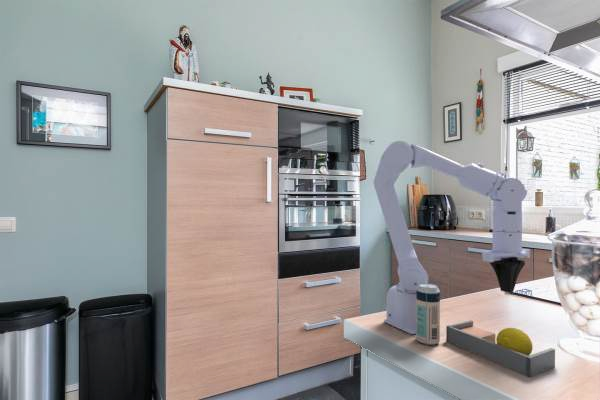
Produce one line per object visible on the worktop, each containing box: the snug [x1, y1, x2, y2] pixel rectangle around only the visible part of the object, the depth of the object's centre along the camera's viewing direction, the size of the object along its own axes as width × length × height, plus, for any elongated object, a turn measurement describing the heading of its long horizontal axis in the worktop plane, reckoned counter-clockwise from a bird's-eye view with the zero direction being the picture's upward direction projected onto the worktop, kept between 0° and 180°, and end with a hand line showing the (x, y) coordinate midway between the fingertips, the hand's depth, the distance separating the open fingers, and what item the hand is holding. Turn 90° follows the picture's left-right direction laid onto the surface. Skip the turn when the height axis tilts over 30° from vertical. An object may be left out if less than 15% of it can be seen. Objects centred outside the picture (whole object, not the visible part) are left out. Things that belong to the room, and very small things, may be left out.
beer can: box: [415, 283, 441, 346], centre depth 73 cm, size 5×5×12 cm
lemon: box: [495, 327, 533, 356], centre depth 66 cm, size 6×6×8 cm
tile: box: [461, 325, 496, 344], centre depth 73 cm, size 5×5×2 cm
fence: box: [445, 320, 556, 378], centre depth 68 cm, size 17×8×3 cm, turn 28°
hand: (506, 291), depth 77 cm, fingers closed
